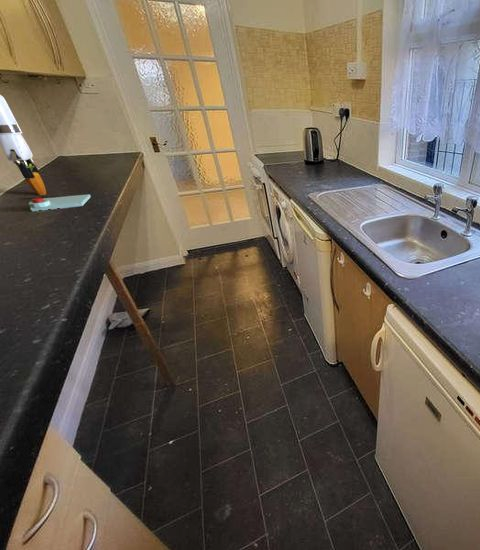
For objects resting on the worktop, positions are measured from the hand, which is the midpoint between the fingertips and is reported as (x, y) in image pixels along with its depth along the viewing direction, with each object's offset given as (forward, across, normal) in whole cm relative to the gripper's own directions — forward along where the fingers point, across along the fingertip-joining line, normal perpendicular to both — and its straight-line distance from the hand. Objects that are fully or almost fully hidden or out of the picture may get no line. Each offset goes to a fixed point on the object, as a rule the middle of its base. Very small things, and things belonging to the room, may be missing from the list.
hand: (32, 176), depth 127 cm
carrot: (+10, 0, 0) cm, 10 cm away
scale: (+10, +12, +9) cm, 18 cm away
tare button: (+7, +16, +4) cm, 18 cm away
